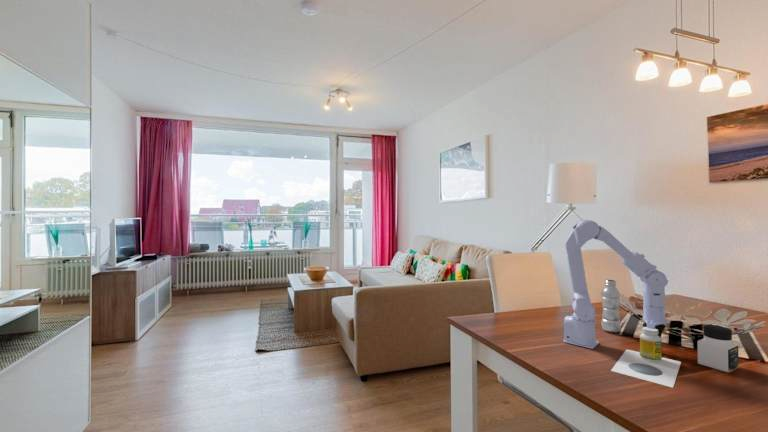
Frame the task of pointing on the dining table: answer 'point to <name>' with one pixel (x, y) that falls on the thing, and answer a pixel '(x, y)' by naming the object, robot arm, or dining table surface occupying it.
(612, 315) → the plastic bottle
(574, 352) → the dining table surface
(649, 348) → the supplement bottle
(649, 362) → the card
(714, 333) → the medicine bottle
